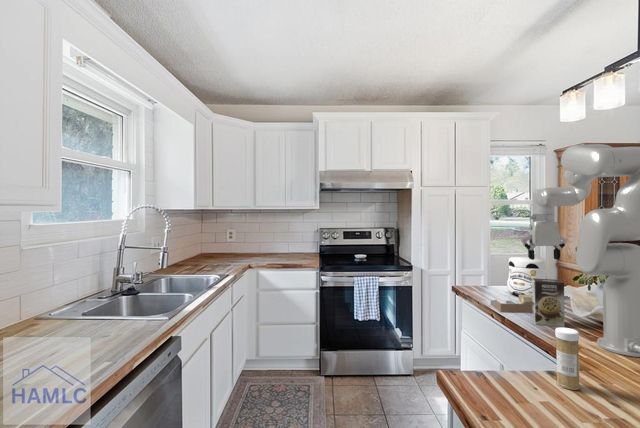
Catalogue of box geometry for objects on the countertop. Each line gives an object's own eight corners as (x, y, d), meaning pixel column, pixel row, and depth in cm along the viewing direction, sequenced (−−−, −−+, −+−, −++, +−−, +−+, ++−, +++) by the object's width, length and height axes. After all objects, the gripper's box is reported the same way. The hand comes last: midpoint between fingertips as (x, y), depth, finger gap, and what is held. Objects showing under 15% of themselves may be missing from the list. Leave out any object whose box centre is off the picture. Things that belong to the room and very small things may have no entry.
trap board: (539, 312, 135) (539, 304, 135) (500, 312, 137) (500, 303, 137) (526, 305, 146) (526, 297, 146) (490, 304, 148) (490, 297, 148)
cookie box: (535, 324, 122) (534, 280, 122) (532, 319, 127) (531, 277, 127) (565, 327, 118) (564, 282, 118) (560, 322, 124) (560, 279, 124)
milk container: (510, 298, 158) (510, 260, 157) (504, 290, 174) (503, 256, 174) (553, 301, 152) (553, 262, 151) (543, 292, 168) (542, 257, 168)
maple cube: (533, 306, 137) (533, 297, 137) (523, 306, 137) (523, 297, 137) (529, 304, 141) (528, 294, 141) (518, 304, 141) (518, 294, 141)
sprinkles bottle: (582, 386, 79) (582, 330, 79) (575, 393, 76) (574, 334, 76) (560, 379, 83) (559, 325, 83) (553, 384, 80) (552, 329, 80)
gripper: (525, 219, 136) (526, 260, 136) (571, 218, 134) (572, 260, 134) (517, 218, 144) (517, 258, 144) (560, 217, 141) (561, 258, 142)
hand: (544, 259), depth 139 cm, fingers open, 9 cm apart
